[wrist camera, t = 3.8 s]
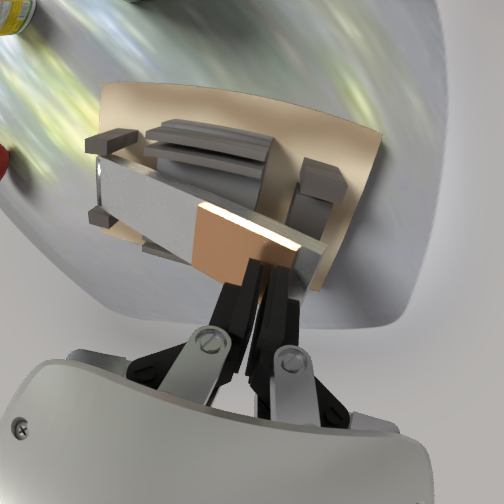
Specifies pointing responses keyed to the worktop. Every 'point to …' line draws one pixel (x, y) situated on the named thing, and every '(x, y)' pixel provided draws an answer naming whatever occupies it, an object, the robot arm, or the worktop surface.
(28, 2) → the supplement bottle
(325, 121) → the heatsink base
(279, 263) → the strap
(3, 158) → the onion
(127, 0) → the supplement bottle
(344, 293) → the worktop surface
